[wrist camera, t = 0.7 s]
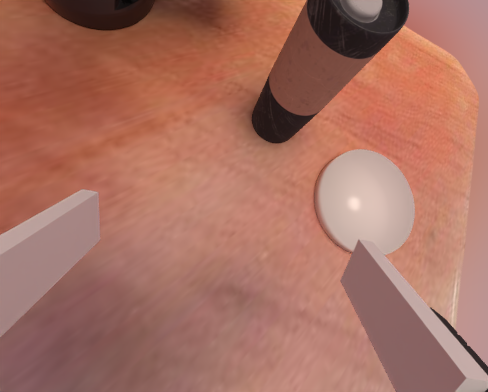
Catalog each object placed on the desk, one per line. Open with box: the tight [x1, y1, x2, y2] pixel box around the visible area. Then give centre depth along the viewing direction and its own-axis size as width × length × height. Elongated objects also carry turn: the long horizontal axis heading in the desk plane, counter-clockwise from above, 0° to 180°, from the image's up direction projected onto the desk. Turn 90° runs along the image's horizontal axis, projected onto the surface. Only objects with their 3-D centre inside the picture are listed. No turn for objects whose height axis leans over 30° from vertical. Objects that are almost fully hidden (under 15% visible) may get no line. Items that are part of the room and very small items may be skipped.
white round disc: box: [314, 149, 415, 255], centre depth 37 cm, size 16×16×2 cm
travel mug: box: [252, 0, 409, 143], centre depth 28 cm, size 8×8×20 cm
